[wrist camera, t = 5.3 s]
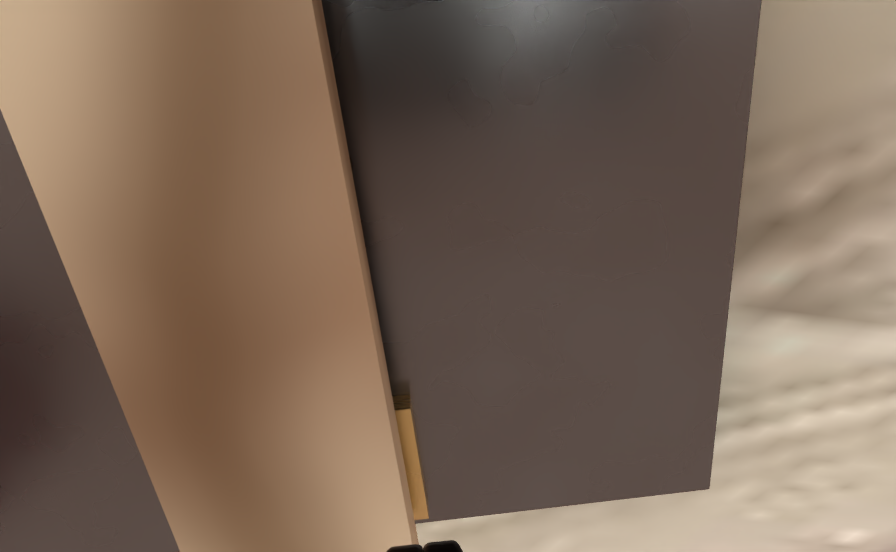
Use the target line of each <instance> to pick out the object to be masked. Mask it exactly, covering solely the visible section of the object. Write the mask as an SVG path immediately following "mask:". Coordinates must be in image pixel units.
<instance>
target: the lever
mask: <svg viewBox="0 0 896 552" xmlns="http://www.w3.org/2000/svg"><path fill="white" fill-rule="evenodd" d="M0 109H1V112H2V114H3V117H4V119H5V122H6V124H7V127H8V129H9V131H10V134H11V136H12V139H13V141H14V144H15V146H16V149H17V151H18V154H19V156H20V159H21V161H22V164H23V166H24V168H25V171H26V173H27V176H28V178H29V181H30V183H31V186H32V188H33V191H34V193H35V196H36V198H37V200H38V203H39V205H40V208H41V210H42V213H43V215H44V218H45V220H46V223H47V225H48V228H49V230H50V232H51V235H52V237H53V240H54V242H55V245H56V247H57V250H58V252H59V255H60V257H61V260H62V262H63V264H64V267H65V269H66V272H67V274H68V277H69V279H70V282H71V284H72V287H73V289H74V292H75V294H76V296H77V299H78V301H79V304H80V306H81V309H82V311H83V314H84V316H85V319H86V321H87V324H88V326H89V328H90V331H91V333H92V336H93V338H94V341H95V343H96V346H97V348H98V351H99V353H100V356H101V358H102V360H103V363H104V365H105V368H106V370H107V373H108V375H109V378H110V380H111V383H112V385H113V388H114V390H115V392H116V395H117V397H118V400H119V402H120V405H121V407H122V410H123V412H124V415H125V417H126V420H127V422H128V424H129V427H130V429H131V432H132V434H133V437H134V439H135V442H136V444H137V447H138V449H139V452H140V454H141V456H142V459H143V461H144V464H145V466H146V469H147V471H148V474H149V476H150V479H151V481H152V484H153V486H154V488H155V491H156V493H157V496H158V498H159V501H160V503H161V506H162V508H163V511H164V513H165V516H166V518H167V520H168V523H169V525H170V528H171V530H172V533H173V535H174V538H175V540H176V543H177V545H178V548H179V550H180V552H387V550H388V549H389V548H391V547H393V546H402V545H412V544H419V543H418V538H417V532H416V527H415V521H414V515H413V510H412V504H411V499H410V493H409V487H408V482H407V476H406V471H405V465H404V459H403V454H402V448H401V443H400V437H399V432H398V426H397V420H396V415H395V409H394V404H393V398H392V392H391V387H390V381H389V376H388V370H387V364H386V359H385V353H384V348H383V342H382V337H381V331H380V325H379V320H378V314H377V309H376V303H375V297H374V292H373V286H372V281H371V275H370V269H369V264H368V258H367V253H366V247H365V242H364V236H363V230H362V225H361V219H360V214H359V208H358V202H357V197H356V191H355V186H354V180H353V174H352V169H351V163H350V158H349V152H348V147H347V141H346V135H345V130H344V124H343V119H342V113H341V107H340V102H339V96H338V91H337V85H336V79H335V74H334V68H333V63H332V57H331V52H330V46H329V40H328V35H327V29H326V24H325V18H324V12H323V7H322V1H321V0H0Z"/></svg>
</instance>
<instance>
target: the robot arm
mask: <svg viewBox="0 0 896 552" xmlns="http://www.w3.org/2000/svg"><path fill="white" fill-rule="evenodd" d="M387 552H463V551H462V549H461V547H460V546H459V544H458V543H457V542H456V541H453V540H450V541H441V542H431V543H427V544H426V545H425V546H424V548H422V546H421V545H419V544H412V545H402V546H393V547H391V548H389V549H388V550H387Z"/></svg>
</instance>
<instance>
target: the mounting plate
mask: <svg viewBox="0 0 896 552" xmlns="http://www.w3.org/2000/svg"><path fill="white" fill-rule="evenodd" d="M321 1H322V7H323V12H324V18H325V24H326V29H327V35H328V40H329V46H330V52H331V57H332V63H333V68H334V74H335V79H336V85H337V91H338V96H339V102H340V107H341V113H342V119H343V124H344V130H345V135H346V141H347V147H348V152H349V158H350V163H351V169H352V174H353V180H354V186H355V191H356V197H357V202H358V208H359V214H360V219H361V225H362V230H363V236H364V242H365V247H366V253H367V258H368V264H369V269H370V275H371V281H372V286H373V292H374V297H375V303H376V309H377V314H378V320H379V325H380V331H381V337H382V342H383V348H384V353H385V359H386V364H387V370H388V376H389V381H390V387H391V392H392V398H393V404H394V409H395V415H396V420H397V426H398V432H399V437H400V443H401V448H402V454H403V459H404V465H405V471H406V476H407V482H408V487H409V493H410V499H411V504H412V510H413V515H414V521H415V524H416V523H424V522H433V521H441V520H450V519H458V518H467V517H475V516H484V515H492V514H501V513H509V512H518V511H526V510H535V509H543V508H552V507H560V506H569V505H577V504H586V503H594V502H603V501H611V500H620V499H628V498H637V497H645V496H654V495H662V494H671V493H679V492H688V491H696V490H705V489H709V487H710V477H711V468H712V459H713V449H714V440H715V431H716V421H717V412H718V402H719V393H720V384H721V374H722V365H723V356H724V346H725V337H726V328H727V318H728V309H729V300H730V290H731V281H732V271H733V262H734V253H735V243H736V234H737V225H738V215H739V206H740V197H741V187H742V178H743V169H744V159H745V150H746V140H747V131H748V122H749V112H750V103H751V94H752V84H753V75H754V66H755V56H756V47H757V37H758V28H759V19H760V9H761V0H321ZM177 551H180V550H179V548H178V545H177V543H176V540H175V538H174V535H173V533H172V530H171V528H170V525H169V523H168V520H167V518H166V516H165V513H164V511H163V508H162V506H161V503H160V501H159V498H158V496H157V493H156V491H155V488H154V486H153V484H152V481H151V479H150V476H149V474H148V471H147V469H146V466H145V464H144V461H143V459H142V456H141V454H140V452H139V449H138V447H137V444H136V442H135V439H134V437H133V434H132V432H131V429H130V427H129V424H128V422H127V420H126V417H125V415H124V412H123V410H122V407H121V405H120V402H119V400H118V397H117V395H116V392H115V390H114V388H113V385H112V383H111V380H110V378H109V375H108V373H107V370H106V368H105V365H104V363H103V360H102V358H101V356H100V353H99V351H98V348H97V346H96V343H95V341H94V338H93V336H92V333H91V331H90V328H89V326H88V324H87V321H86V319H85V316H84V314H83V311H82V309H81V306H80V304H79V301H78V299H77V296H76V294H75V292H74V289H73V287H72V284H71V282H70V279H69V277H68V274H67V272H66V269H65V267H64V264H63V262H62V260H61V257H60V255H59V252H58V250H57V247H56V245H55V242H54V240H53V237H52V235H51V232H50V230H49V228H48V225H47V223H46V220H45V218H44V215H43V213H42V210H41V208H40V205H39V203H38V200H37V198H36V196H35V193H34V191H33V188H32V186H31V183H30V181H29V178H28V176H27V173H26V171H25V168H24V166H23V164H22V161H21V159H20V156H19V154H18V151H17V149H16V146H15V144H14V141H13V139H12V136H11V134H10V131H9V129H8V127H7V124H6V122H5V119H4V117H3V114H2V112H1V109H0V552H177Z"/></svg>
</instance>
